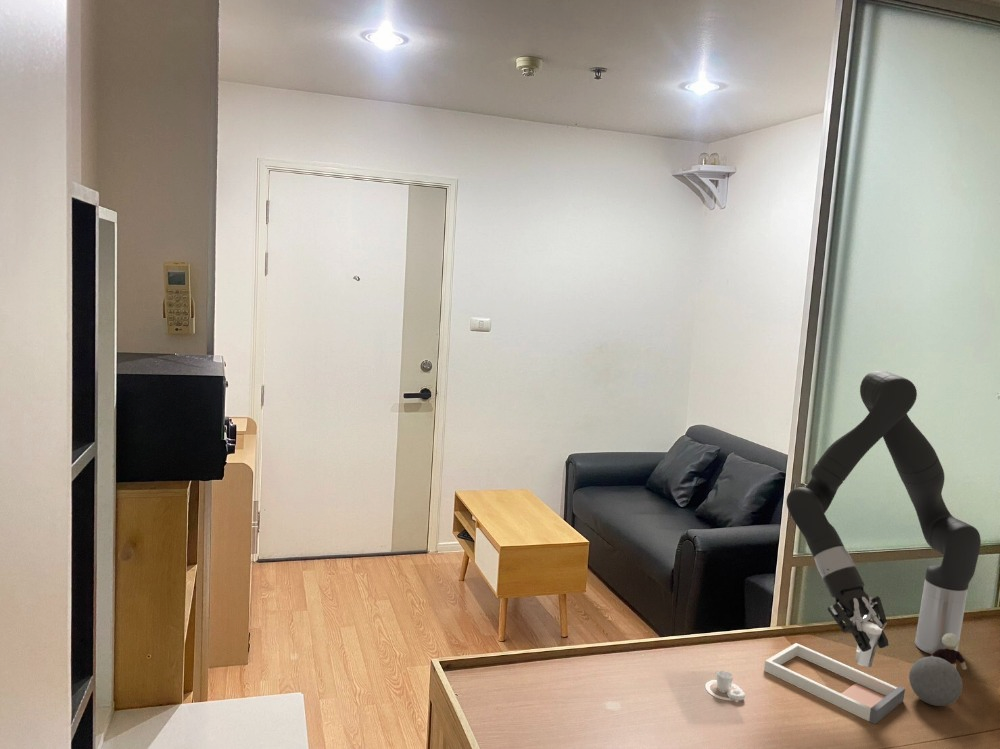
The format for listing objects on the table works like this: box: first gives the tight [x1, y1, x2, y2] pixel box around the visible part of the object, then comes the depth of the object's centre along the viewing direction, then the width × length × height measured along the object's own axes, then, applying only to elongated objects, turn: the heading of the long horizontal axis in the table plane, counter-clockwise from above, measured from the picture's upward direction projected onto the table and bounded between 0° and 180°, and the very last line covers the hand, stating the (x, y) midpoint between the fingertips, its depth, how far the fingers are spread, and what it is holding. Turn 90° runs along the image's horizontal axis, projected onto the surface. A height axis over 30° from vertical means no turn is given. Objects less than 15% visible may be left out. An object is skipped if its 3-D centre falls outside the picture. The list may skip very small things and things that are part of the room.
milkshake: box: [855, 621, 888, 668], centre depth 168 cm, size 4×5×10 cm
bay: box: [763, 642, 906, 725], centre depth 174 cm, size 14×25×3 cm, turn 41°
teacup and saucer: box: [704, 670, 746, 702], centre depth 169 cm, size 9×8×4 cm
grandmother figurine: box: [931, 633, 967, 671], centre depth 176 cm, size 8×4×13 cm, turn 89°
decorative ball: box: [908, 655, 963, 707], centre depth 169 cm, size 10×10×10 cm
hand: (875, 648), depth 166 cm, fingers closed on milkshake, 4 cm apart
